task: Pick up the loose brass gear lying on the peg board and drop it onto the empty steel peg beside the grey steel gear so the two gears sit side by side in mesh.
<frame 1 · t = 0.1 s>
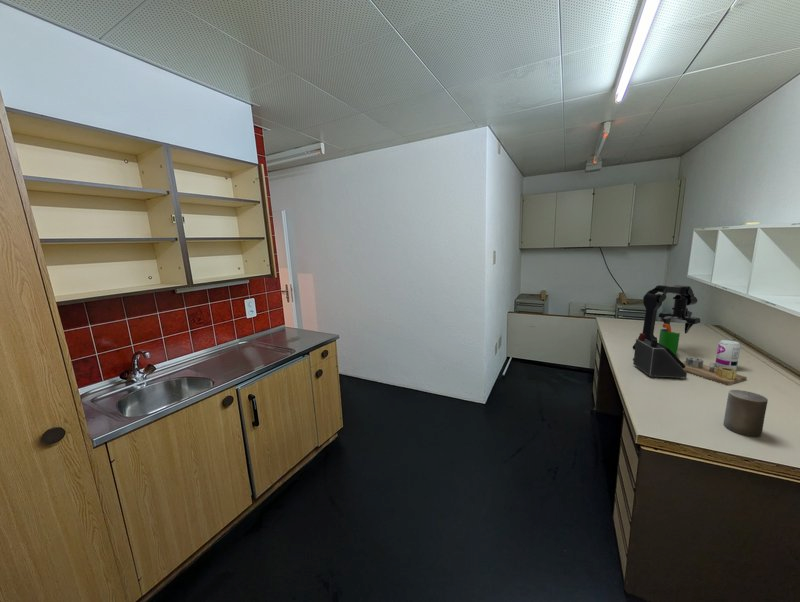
hand: (676, 331, 187), 15 cm above the table, fingers open, 9 cm apart
brass gear: (725, 376, 154), point 2 cm above the table, touching board
motor: (666, 356, 187), on the table
board: (706, 373, 162), on the table
steel gear: (693, 366, 167), point 2 cm above the table, touching board
pillar candle: (741, 429, 115), on the table
supplement can: (725, 368, 167), on the table
voltmeter: (658, 373, 164), on the table
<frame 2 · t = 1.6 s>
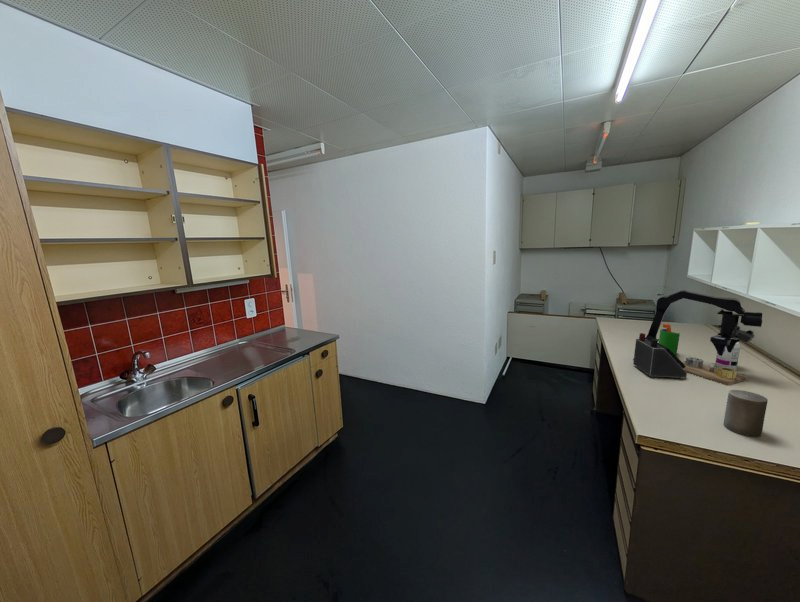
hand: (725, 353, 154), 13 cm above the table, fingers open, 9 cm apart
nothing on the table moved.
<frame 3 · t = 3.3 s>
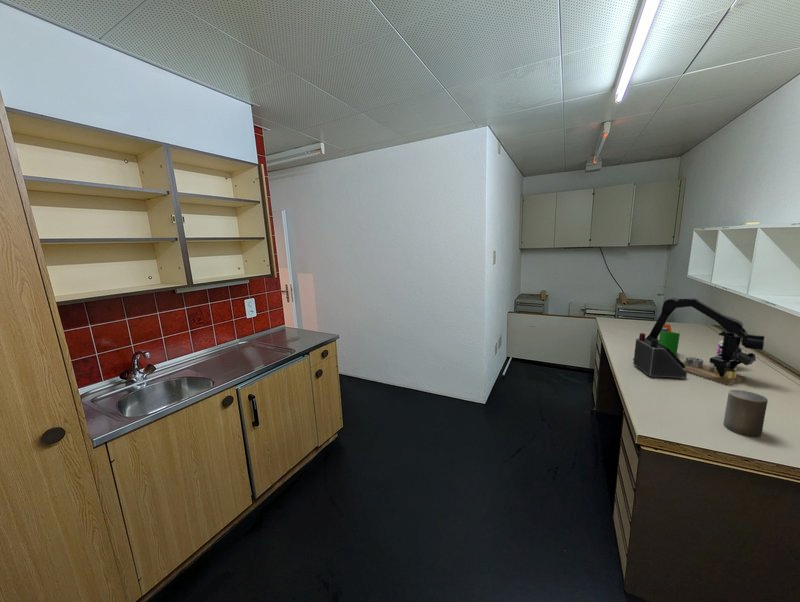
hand: (725, 375, 154), 2 cm above the table, fingers closed on brass gear, 7 cm apart
brass gear: (725, 376, 154), point 2 cm above the table, touching board, gripper
everything else where it was.
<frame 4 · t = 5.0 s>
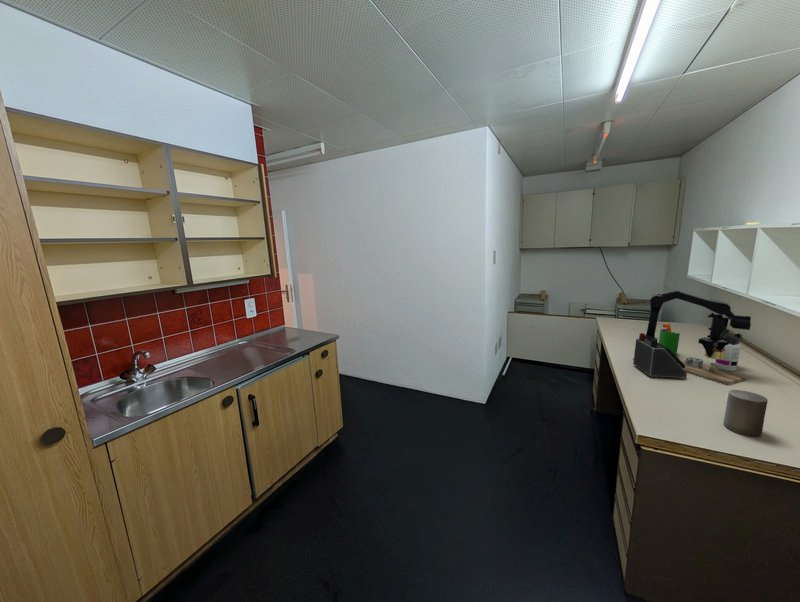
hand: (714, 355, 159), 10 cm above the table, fingers closed on brass gear, 7 cm apart
brass gear: (713, 357, 159), point 9 cm above the table, touching gripper
everything else where it was.
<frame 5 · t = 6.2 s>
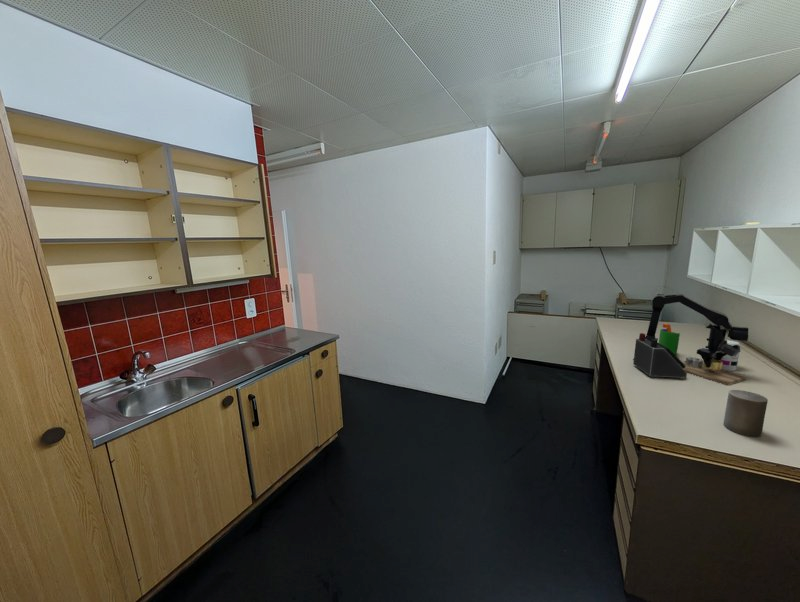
hand: (712, 366, 160), 4 cm above the table, fingers closed on brass gear, 7 cm apart
brass gear: (712, 367, 160), point 4 cm above the table, touching gripper
everything else where it was.
when the fingers open (4 cm above the table, at t = 6.9 s): brass gear drops 1 cm, resting on board.
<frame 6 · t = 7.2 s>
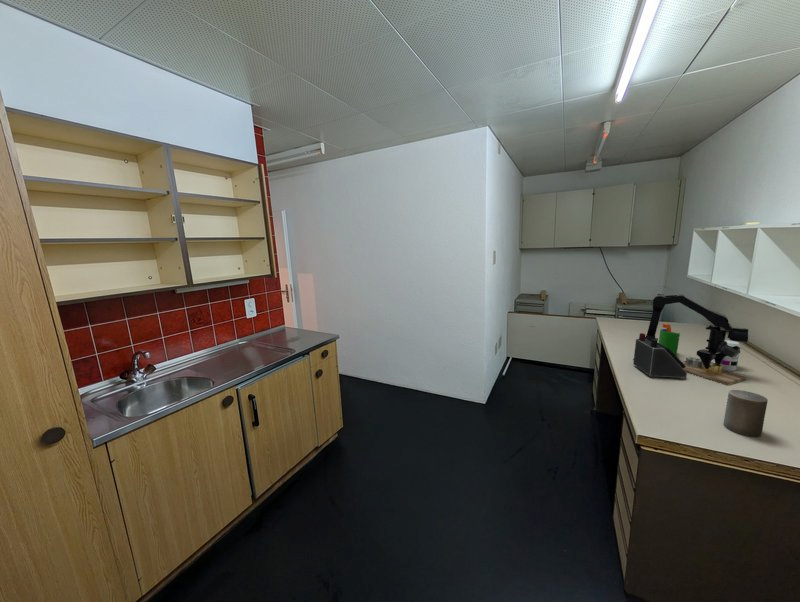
hand: (712, 367, 160), 4 cm above the table, fingers open, 9 cm apart
brass gear: (711, 371, 160), point 2 cm above the table, touching board
everything else where it was.
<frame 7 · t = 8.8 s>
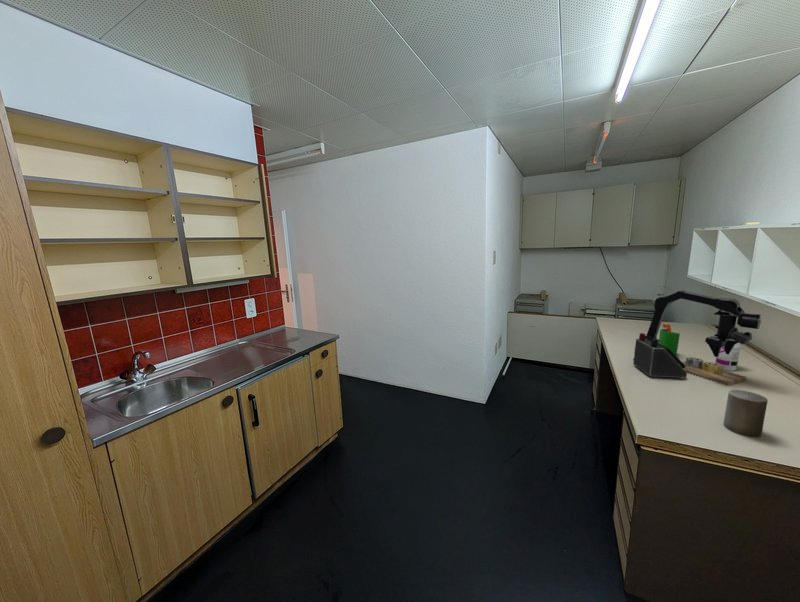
hand: (721, 355, 151), 13 cm above the table, fingers open, 9 cm apart
nothing on the table moved.
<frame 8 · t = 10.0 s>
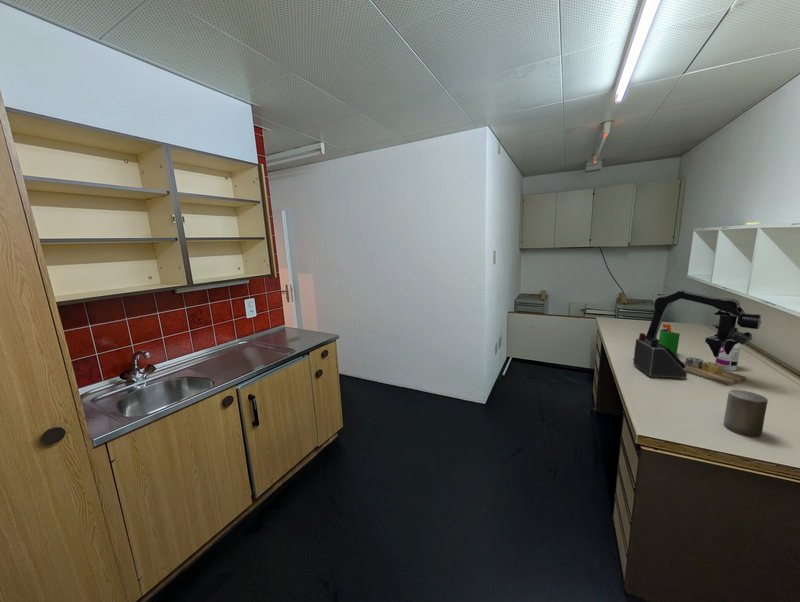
hand: (721, 355, 151), 13 cm above the table, fingers open, 9 cm apart
nothing on the table moved.
at the end: brass gear 0.0 cm from the target spot on the board, point 1.6 cm above the board's base; brass gear tilted 0°; the gripper is holding nothing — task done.
